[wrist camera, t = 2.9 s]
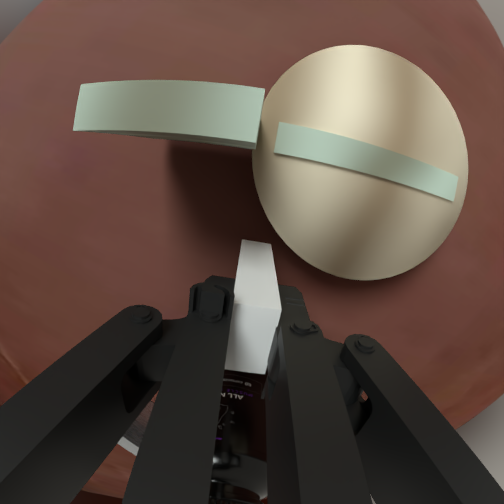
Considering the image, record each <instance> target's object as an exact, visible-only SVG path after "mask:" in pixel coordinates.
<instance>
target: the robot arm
mask: <svg viewBox="0 0 504 504" xmlns="http://www.w3.org/2000/svg"><path fill="white" fill-rule="evenodd" d="M303 300H304V299H303V296H302V293H301V292H300V291H299V290H298V289H297V288H296V287H291V286H284V285H278V283H277V277H276V271H275V265H274V259H273V253H272V247H271V244H268V243H262V242H256V241H249V240H243V239H242V243H241V249H240V255H239V262H238V268H237V274H236V279H232V278H226V277H220V276H214V275H212V276H210V277H209V278H207V279H206V280H205V282H203V283H198V284H195V285H193V286H192V287H191V288H190V297H189V311H188V315H187V317H185V318H181V319H173V320H162V314H161V313H160V312H159V311H158V310H157V309H155V308H153V307H150V306H146V305H134V306H129V307H127V308H125V309H123V310H122V311H121V312H119V313H118V314H117V315H115V316H114V317H113V318H111V319H110V320H109V321H107V322H106V323H105V324H103V325H102V326H101V327H99V328H98V329H97V330H95V331H94V332H93V333H91V334H90V335H89V336H88V337H86V338H85V339H84V340H82V341H81V342H80V343H79V344H77V345H76V346H75V347H73V348H72V349H71V350H70V351H68V352H67V353H66V354H64V355H63V356H62V357H61V358H59V359H58V360H57V361H56V362H54V363H53V364H52V365H51V366H49V367H48V368H47V369H46V370H44V371H43V372H42V373H41V374H39V375H38V376H37V377H36V378H34V379H33V380H32V381H31V382H29V383H28V384H27V385H26V386H25V387H23V388H22V389H21V390H20V391H19V392H17V393H16V394H15V395H14V396H13V397H11V398H10V399H9V400H8V401H7V402H5V403H4V404H3V405H2V406H1V407H0V504H70V503H71V501H72V500H73V499H74V497H75V496H76V495H77V494H78V493H79V491H80V490H81V489H82V488H83V486H84V485H85V484H86V483H87V481H88V480H89V479H90V477H91V476H92V475H93V474H94V472H95V471H96V470H97V469H98V467H99V466H100V465H101V463H102V462H103V461H104V460H105V458H106V457H107V456H108V455H109V453H110V452H111V451H112V449H113V448H114V447H115V446H116V444H117V443H118V442H119V440H120V439H121V438H122V437H123V435H124V434H125V433H126V431H127V430H128V429H129V428H130V426H131V425H132V424H133V422H134V421H135V420H136V419H137V417H138V416H139V415H140V413H141V412H142V411H143V409H144V408H145V407H146V406H147V404H148V403H149V402H150V400H151V399H152V398H153V396H154V395H155V394H156V393H157V391H158V390H159V392H158V394H157V397H156V400H155V403H154V406H153V409H152V411H151V414H150V417H149V420H148V423H147V426H146V429H145V432H144V435H143V438H142V441H141V444H140V447H139V450H138V453H137V456H136V459H135V462H134V465H133V468H132V472H131V475H130V478H129V481H128V484H127V488H126V491H125V494H124V498H123V501H122V504H208V500H209V491H210V482H211V474H212V465H213V457H214V449H215V440H216V432H217V424H218V416H219V408H220V400H221V392H222V385H223V377H224V369H227V370H234V371H242V372H249V373H258V374H265V372H266V368H267V365H268V375H267V379H266V382H265V386H264V389H263V392H262V396H261V399H264V397H265V405H266V446H267V497H268V504H372V500H371V496H372V498H373V499H374V501H375V503H376V504H504V491H503V490H502V489H501V487H500V486H499V484H498V483H497V482H496V481H495V479H494V478H493V477H492V475H491V474H490V473H489V471H488V470H487V469H486V468H485V466H484V465H483V464H482V463H481V461H480V460H479V459H478V458H477V456H476V455H475V454H474V453H473V451H472V450H471V449H470V448H469V446H468V445H467V444H466V443H465V441H464V440H463V439H462V438H461V437H460V436H459V434H458V433H457V432H456V430H455V429H454V428H453V427H452V426H451V424H450V423H449V422H448V421H447V420H446V419H445V417H444V416H443V415H442V414H441V413H440V411H439V410H438V409H437V408H436V407H435V406H434V404H433V403H432V402H431V401H430V400H429V399H428V397H427V396H426V395H425V394H424V393H423V392H422V390H421V389H420V388H419V387H418V386H417V385H416V384H415V382H414V381H413V380H412V379H411V378H410V377H409V376H408V375H407V373H406V372H405V371H404V370H403V369H402V368H401V367H400V365H399V364H398V363H397V362H396V361H395V360H394V359H393V358H392V357H391V355H390V354H389V353H388V352H387V351H386V350H385V349H384V348H383V347H382V345H381V344H380V343H378V342H377V341H376V340H375V339H373V338H371V337H369V336H365V335H362V334H353V335H350V336H348V337H347V338H346V340H345V342H344V344H342V343H338V342H335V341H331V340H329V339H326V338H324V337H323V334H322V331H321V329H320V328H319V326H318V325H316V324H315V323H314V322H312V321H310V319H309V316H308V312H307V309H306V306H305V303H304V301H303ZM363 391H364V392H365V393H366V395H367V396H368V398H367V400H366V401H365V400H364V399H363V398H362V397H361V394H362V392H363ZM370 494H371V496H370Z"/></svg>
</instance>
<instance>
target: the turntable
mask: <svg viewBox="0 0 504 504" xmlns="http://www.w3.org/2000/svg"><path fill="white" fill-rule="evenodd" d="M264 93H265V89H262V88H255V87H249V86H241V85H233V84H223V83H213V82H200V81H181V80H130V81H112V82H99V83H89V84H81V87H80V92H79V97H78V102H77V108H76V114H75V121H74V127H73V131H86V132H99V133H110V134H120V135H129V136H138V137H146V138H153V139H167V140H179V141H189V142H199V143H208V144H216V145H224V146H231V147H238V148H245V149H251V150H252V168H253V174H254V180H255V186H256V189H257V192H258V196H259V199H260V202H261V204H262V207H263V209H264V211H265V213H266V215H267V218H268V219H269V221H270V223H271V224H272V226H273V227H274V229H275V231H276V232H277V233H278V235H279V236H280V237H281V238H282V240H283V241H284V242H285V243H286V244H287V245H288V246H289V247H290V248H291V249H292V250H293V251H294V252H295V253H296V254H297V255H298V256H300V257H301V258H302V259H304V260H305V261H306V262H308V263H309V264H311V265H313V266H314V267H316V268H318V269H320V270H322V271H324V272H327V273H329V274H332V275H335V276H338V277H342V278H347V279H352V280H378V279H383V278H388V277H392V276H395V275H398V274H401V273H404V272H406V271H408V270H410V269H411V268H413V267H415V266H417V265H418V264H420V263H421V262H423V261H424V260H426V259H427V258H428V257H429V256H430V255H431V254H432V253H433V252H435V251H436V250H437V248H438V247H439V246H440V245H441V244H442V243H443V242H444V240H445V239H446V237H447V236H448V234H449V233H450V232H451V230H452V228H453V226H454V224H455V222H456V221H457V219H458V216H459V214H460V211H461V208H462V205H463V202H464V198H465V194H466V188H467V181H468V156H467V149H466V143H465V138H464V135H463V131H462V128H461V125H460V122H459V120H458V118H457V115H456V113H455V111H454V109H453V107H452V106H451V104H450V102H449V100H448V99H447V97H446V96H445V95H444V93H443V92H442V91H441V89H440V88H439V87H438V86H437V85H436V83H435V82H434V81H433V80H432V79H431V78H430V77H429V76H428V75H427V74H425V73H424V72H423V71H422V70H421V69H420V68H418V67H417V66H415V65H414V64H412V63H411V62H409V61H408V60H406V59H404V58H402V57H400V56H398V55H396V54H394V53H392V52H389V51H386V50H383V49H380V48H375V47H370V46H362V45H344V46H335V47H331V48H327V49H324V50H320V51H318V52H316V53H313V54H311V55H309V56H307V57H305V58H304V59H302V60H300V61H299V62H297V63H296V64H294V65H293V66H292V67H291V68H290V69H289V70H287V71H286V72H285V73H284V74H283V75H282V76H281V77H280V79H279V80H278V81H277V82H276V83H275V85H274V86H273V87H272V89H271V90H270V92H269V94H268V95H267V97H266V99H265V100H264ZM263 100H264V103H263Z"/></svg>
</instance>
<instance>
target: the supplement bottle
mask: <svg viewBox="0 0 504 504" xmlns="http://www.w3.org/2000/svg"><path fill="white" fill-rule="evenodd" d="M267 375H268V365H267V368H266V372H265V374H258V373H249V372H242V371H234V370H227V369H224V377H223V385H222V392H221V400H220V408H219V416H218V424H217V432H216V440H215V449H214V457H213V465H212V474H211V482H210V491H209V500H208V504H263V503H262V502H261V501H260V500H261V499H263V498H265V497H267V446H266V405H265V397H264V399H261V396H262V392H263V389H264V386H265V382H266V379H267Z"/></svg>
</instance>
